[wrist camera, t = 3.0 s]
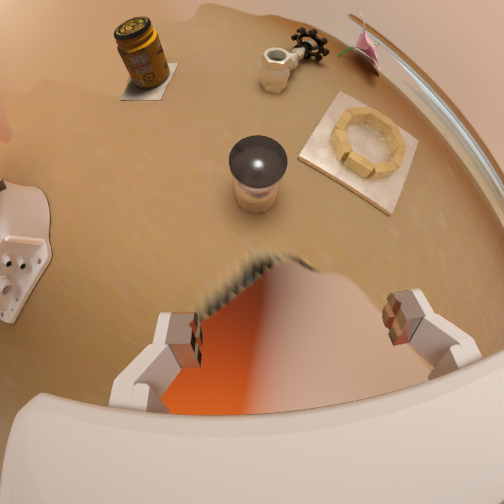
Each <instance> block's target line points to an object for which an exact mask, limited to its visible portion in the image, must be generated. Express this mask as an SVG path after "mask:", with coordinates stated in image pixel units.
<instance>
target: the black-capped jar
mask: <svg viewBox="0 0 504 504" xmlns="http://www.w3.org/2000/svg"><path fill="white" fill-rule="evenodd" d="M229 166H230V170H231V173H232V175H233V178H234V186H235V193H236V199H237V202H238V204H239V205H240V207H241V208H242V209H244V210H245V211H247V212H249V213H254V214H258V213H263V212H265V211H267V210H269V209H270V208H271V207H272V205H273V204H274V202H275V199H276V195H277V192H278V188H279V184H280V181H281V178H282V177H283V175H284V173H285V171H286V167H287V155H286V153H285V150H284V149H283V147H282V146H281V145H280V144H279V143H278V142H277V141H275V140H273V139H272V138H269V137H266V136H260V135H256V136H249V137H246V138H244V139H242V140H240V141H239V142H238V143H237V144H235V146H234V147H233V148H232V150H231V152H230V156H229Z"/></svg>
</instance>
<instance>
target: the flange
mask: <svg viewBox="0 0 504 504" xmlns="http://www.w3.org/2000/svg"><path fill="white" fill-rule="evenodd" d="M417 144H418V140H417V139H415V138H414V137H413V136H411V135H410V134H409V133H407V132H406V131H404V130H403V129H401V128H400V127H399V126H397V125H396V124H394V123H393V121H392V120H391V119H389V118H388V117H386V116H385V115H383V114H382V113H380V112H378V111H377V110H375V109H374V108H372V109H371V108H369V107H367V106H366V105H364V104H362V103H361V102H359V101H357V100H356V99H354V98H352V97H350V96H348V95H347V94H345V93H343V92H341V91H339V93H338V94H337V96H336V98H335V99H334V101H333V102H332V104H331V105H330V107H329V109H328V110H327V112H326V113H325V115H324V116H323V118H322V119H321V121H320V123H319V124H318V126H317V127H316V129H315V131H314V132H313V134H312V135H311V137H310V138H309V140H308V142H307V143H306V145H305V146H304V148H303V150H302V151H301V153H300V154H299V156H298V160H300V161H302V162H304V163H306V164H307V165H309V166H311V167H313V168H314V169H316V170H318V171H319V172H321V173H323V174H325V175H326V176H328V177H330V178H331V179H333V180H334V181H336V182H338V183H339V184H341V185H343V186H344V187H346V188H347V189H349V190H351V191H352V192H354V193H355V194H357V195H358V196H360V197H361V198H363V199H364V200H366V201H367V202H369V203H370V204H372V205H373V206H375V207H376V208H378V209H379V210H381V211H382V212H384V213H385V214H387V215H388V216H390V215H391V214H392V213H393V211H394V208H395V206H396V203H397V201H398V198H399V196H400V193H401V190H402V188H403V185H404V182H405V180H406V177H407V174H408V171H409V168H410V165H411V162H412V159H413V156H414V153H415V150H416V147H417Z"/></svg>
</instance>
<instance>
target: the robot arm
mask: <svg viewBox="0 0 504 504" xmlns="http://www.w3.org/2000/svg"><path fill="white" fill-rule="evenodd" d="M49 226H50V212H49V205H48V201H47V199H46V196H45V195H44V193H43V192H42V191H41V190H40V189H39V188H37V187H33V186H22V185H17V184H13V183H10V182H7V181H4V180H3V179H2V178H1V177H0V320H2V321H3V322H6V323H10V324H13V323H14V322H15V321H16V319H17V317H18V315H19V313H20V311H21V309H22V308H23V306H24V304H25V302H26V300H27V299H28V297H29V295H30V293H31V292H32V290H33V288H34V287H35V285H36V283H37V282H38V280H39V279H40V277H41V275H42V274H43V272H44V271H45V269H46V268H47V266H48V264H49V263H50V261H51V258H52V251H51V246H50V242H49ZM40 262H41V263H40ZM387 301H388V303H387V304H386V305H385V306H384V308H383V311H382V318H383V323H384V325H385V327H387V328H388V329H389V334H388V335H389V337H390V339H391V342H392V344H393V346H395V345H399V344H405V343H409V344H410V345H411V346H412V347H413V348H414V349H415V350H416V351H417V352H418V353H419V354H420V355H421V356H422V357H423V358H425V359H426V360H427V361H428V362H429V363H430V364H431V365H432V366H433V367H434V369H433V370H432V371H431V372H430V374H429V376H428V379H429V381H426V382H423V383H420V384H417V385H414V386H410V387H407V388H404V389H400V390H397V391H393V392H389V393H386V394H382V395H378V396H374V397H370V398H365V399H361V400H356V401H351V402H347V403H341V404H336V405H330V406H325V407H318V408H311V409H304V410H296V411H287V412H277V413H265V414H248V415H181V414H169V409H168V408H167V407H166V406H165V404H164V403H163V402H162V401H161V400H160V398H161V397H162V395H163V394H164V393H165V391H166V390H167V389H168V387H169V386H170V384H171V383H172V382H173V380H174V379H175V377H176V376H177V375H178V373H179V372H180V371H181V368H201V357H202V354H201V351H200V348H201V347H202V345H203V333H202V327H201V324H200V323H198V315H197V312H161V313H160V314H159V316H158V321H157V325H156V329H155V334H154V338H153V343H152V344H149V345H148V346H147V347H146V348H145V349H144V350H143V351H142V352H141V353H140V354H139V355H138V356H137V357H136V358H135V359H134V360H133V361H132V362H131V363H130V364H129V365H128V366H127V367H126V368H125V369H124V370H123V371H122V372H121V373H120V374H119V375H118V377H117V378H116V379H115V380H114V383H113V387H112V391H111V396H110V400H109V405H108V407H107V406H101V405H95V404H90V403H85V402H80V401H76V400H71V399H67V398H63V397H59V396H56V395H52V394H48V393H39V394H38V395H36V396H35V397H33V398H32V399H31V400H30V401H29V402H28V403H26V404H25V405H24V406H23V407H22V408H21V409H20V410H19V412H18V413H17V415H16V417H15V419H14V421H13V424H12V427H11V430H10V434H9V437H8V441H7V445H6V450H5V455H4V460H3V465H2V473H1V482H0V504H504V349H502V350H500V351H498V352H496V353H494V354H492V355H490V356H488V357H486V358H484V359H483V357H482V355H481V353H480V351H479V349H478V347H477V346H476V344H475V342H474V340H473V338H472V337H470V336H469V335H468V334H466V333H465V332H463V331H462V330H460V329H459V328H457V327H456V326H455V325H453V324H452V323H450V322H449V321H447V320H446V319H444V318H443V317H441V316H440V315H438V314H435V313H434V312H433V310H432V308H431V306H430V305H429V303H428V301H427V299H426V298H425V296H424V294H423V293H422V291H421V290H420V289H419V288H418V289H412V290H405V291H399V292H393V293H390V294H389V295H388V297H387Z"/></svg>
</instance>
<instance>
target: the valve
mask: <svg viewBox="0 0 504 504" xmlns="http://www.w3.org/2000/svg"><path fill="white" fill-rule="evenodd" d="M297 33H300V34H301V35H300V36H299V35H298V34H294V35H293V36H291V39H292V40H293V41H294V40H297V42H298V44H297V45H296V46H294V49H293V50H292V51H290V52H287V51H286V50H284V49H281V48H270V49H268V50H266V51H265V52H264V53H263V54H262V62H263V63H262V65H261V68H260V74H261V84H262V86H263V88H264V89H265V91H266V92H272V93H280V92H281V91H282V90H283V89H285V88H286V86H287V81H288V80H287V79H288V78H289V76H290V70H293V69H294V68H295V67H297V66H298V60H300V59H301V58H303V57H304V58H305V59H307V60H308V59H309V58H311V57H312V56H315V59H314V60H315V61H316V62H319V61H321V60H322V59H323V57H322V56H321V55H320V54H321V53H322V54H323V56H327V55H328V54H329V50H328V49H325V48H324V47H323V46H324V45H325V44H326V43H327V40H326V39H325V38H321V39H319V38H318V37H317V36H316V34H317V30H315V29H311V30H310V31H308V33H307V32H306V30H305V29H304V28H303V27H301V28H299V29H298V30H297ZM303 37H310V38H312V39H314V40H315V41H316V42H317V44H318V45H316V46H315V43H314V42H313V41H312V40H306V41H304V42H302V39H303ZM317 49H319V50H318V52H311V51H312V50H317Z"/></svg>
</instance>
